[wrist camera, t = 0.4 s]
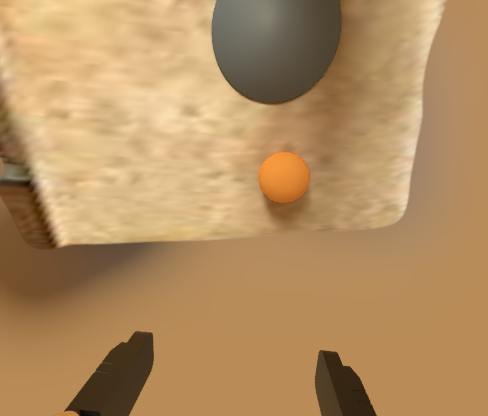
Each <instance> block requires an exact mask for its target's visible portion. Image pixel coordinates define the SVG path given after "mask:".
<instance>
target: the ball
mask: <svg viewBox="0 0 488 416" xmlns="http://www.w3.org/2000/svg"><path fill="white" fill-rule="evenodd" d="M309 180H310V173H309V169H308V166H307V165H306V163H305V162H304V160H303V159H302V158H301V157H299V156H298V155H296V154H294V153H290V152H279V153H276V154H273V155H271V156H270V157H269V158H267V159H266V160H265V161H264V163H263V164H262V166H261V168H260V171H259V185H260V188H261V190H262V191H263V193H264V194H265V195H266V196H267V197H268V198H270V199H271V200H273V201H276V202H280V203H287V202H291V201H294V200H296V199H298V198H299V197H300V196H302V195H303V193H304V192H305V191H306V189H307V187H308V184H309Z"/></svg>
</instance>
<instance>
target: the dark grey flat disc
mask: <svg viewBox="0 0 488 416" xmlns="http://www.w3.org/2000/svg"><path fill="white" fill-rule="evenodd" d="M340 29H341V10H340V4H339V0H217V1H216V5H215V8H214V12H213V19H212V44H213V49H214V53H215V57H216V60H217V63H218V65H219V67H220V69H221V71H222V73H223V74H224V76H225V77H226V79H227V80H228V81H229V83H230V84H231V85H232V86H233V87H234V88H235V89H236V90H238V91H239V92H240V93H242V94H243V95H245V96H247V97H248V98H251V99H253V100H256V101H260V102H267V103H276V102H283V101H287V100H290V99H293V98H295V97H297V96H299V95H301V94H303V93H304V92H306V91H307V90H308V89H310V88H311V87H312V86H313V85H314V84H315V83H316V82H317V81H318V80H319V79H320V78H321V77H322V75H323V74H324V73H325V71H326V70H327V68H328V66H329V65H330V63H331V61H332V59H333V56H334V54H335V52H336V48H337V45H338V41H339V36H340Z"/></svg>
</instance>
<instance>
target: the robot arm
mask: <svg viewBox="0 0 488 416" xmlns="http://www.w3.org/2000/svg"><path fill="white" fill-rule="evenodd" d="M153 353H154V352H153V334H152V333H150V332H140V331H136V332H135V333H134V334H133V335H132V336H131V338H130V339H129V341H128V342H127V343H124V342H122V343H120V344H119V345H118V346H116V347H115V348H114V349H112V350H111V351H110V352H109V354H108V355H107V356H106V357H105V359H104V360H103V361H102V364H100V365H99V367H98V368H97V369H96V372H95V373H93V375H92V376H91V377H90V378H89V380H88V381H87V382H86V384H85V385H84V386H83V388H82V389H81V390H80V391H79V393H78V394H77V395H76V397H75V398H74V399H73V401H72V402H71V403H70V405H69V406H68V407H67V408H66V410H65V411H64V412H61V413H58V414H56V415H54V416H129V414H130V412H131V410H132V408H133V406H134V404H135V402H136V400H137V398H138V396H139V394H140V392H141V390H142V388H143V386H144V384H145V382H146V380H147V378H148V376H149V374H150V372H151V369H152V365H153V360H154V354H153ZM315 388H316V394H317V398H318V402H319V407H320V411H321V415H322V416H377V415H376V413H375V411H374V409H373V406H372V405H371V403H370V400H369V398H368V395H367V393H366V392H365V389H364V386H363V384H362V382H361V380H360V378H359V377H358V375H357V374H356V373H355V372H354V371H353V370H352V368H351V367H349V366H343V365H342V362H341V360H340V357H339V355H338V353H337V352H331V351H322V350H320V351H319V355H318V361H317V368H316V374H315Z"/></svg>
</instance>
